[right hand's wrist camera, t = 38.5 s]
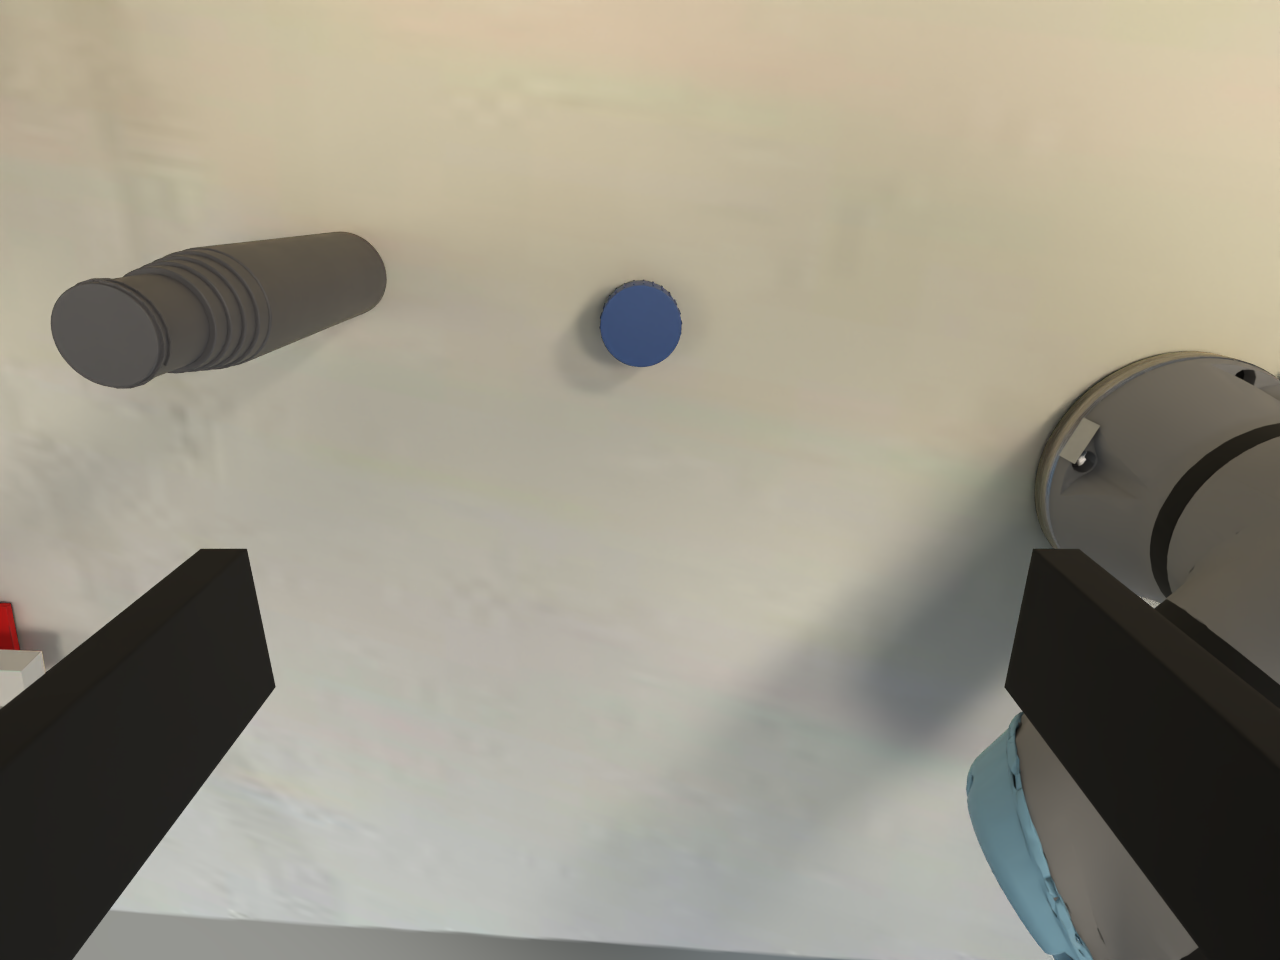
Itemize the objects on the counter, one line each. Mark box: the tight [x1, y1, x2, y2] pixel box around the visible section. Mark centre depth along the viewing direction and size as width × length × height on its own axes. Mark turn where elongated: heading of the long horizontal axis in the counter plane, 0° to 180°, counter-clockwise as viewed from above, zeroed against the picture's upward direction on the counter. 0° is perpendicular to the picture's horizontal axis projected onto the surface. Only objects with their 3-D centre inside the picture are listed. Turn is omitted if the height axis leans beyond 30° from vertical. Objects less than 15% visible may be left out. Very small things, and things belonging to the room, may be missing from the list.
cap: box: [600, 280, 682, 367], centre depth 42 cm, size 5×5×2 cm
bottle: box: [51, 232, 386, 388], centre depth 33 cm, size 5×5×21 cm
